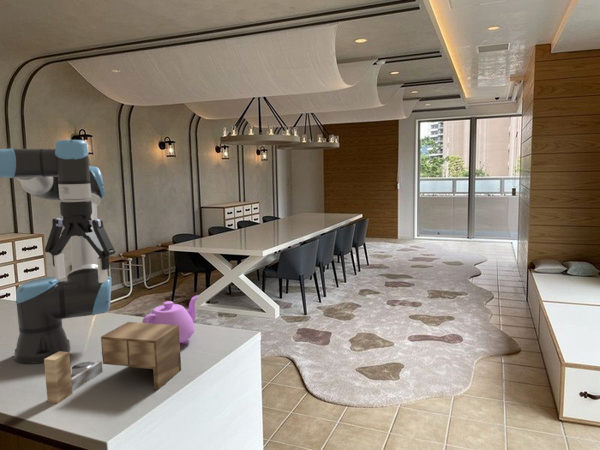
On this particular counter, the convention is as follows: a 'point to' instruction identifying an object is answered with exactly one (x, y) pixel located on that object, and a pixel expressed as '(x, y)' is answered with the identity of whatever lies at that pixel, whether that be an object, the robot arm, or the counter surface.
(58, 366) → the wood and metal l-shape
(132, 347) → the small wooden cabinet
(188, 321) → the teapot
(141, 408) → the counter surface
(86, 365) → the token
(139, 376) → the counter surface
